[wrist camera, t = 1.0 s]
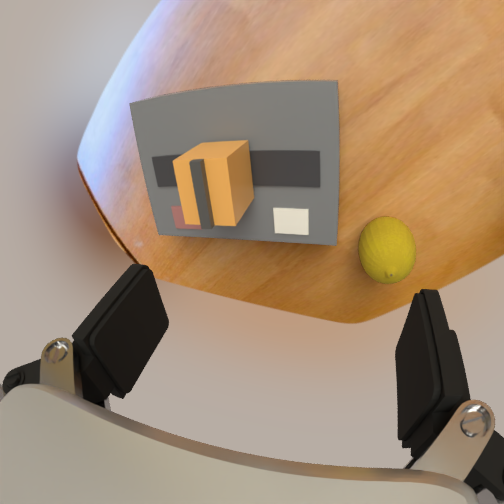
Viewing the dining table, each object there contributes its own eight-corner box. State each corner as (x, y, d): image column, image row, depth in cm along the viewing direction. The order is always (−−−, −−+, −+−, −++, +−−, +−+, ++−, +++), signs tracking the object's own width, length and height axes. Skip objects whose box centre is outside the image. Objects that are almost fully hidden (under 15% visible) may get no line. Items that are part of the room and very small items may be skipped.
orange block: (248, 140, 23) (223, 160, 18) (254, 197, 26) (232, 230, 21) (201, 142, 24) (168, 163, 20) (210, 197, 27) (181, 228, 22)
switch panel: (337, 80, 23) (337, 81, 19) (338, 219, 31) (336, 246, 26) (157, 96, 28) (128, 103, 24) (179, 213, 35) (157, 235, 31)
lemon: (363, 198, 28) (369, 240, 22) (414, 210, 27) (432, 254, 21) (352, 244, 32) (351, 294, 25) (399, 255, 31) (409, 305, 24)
